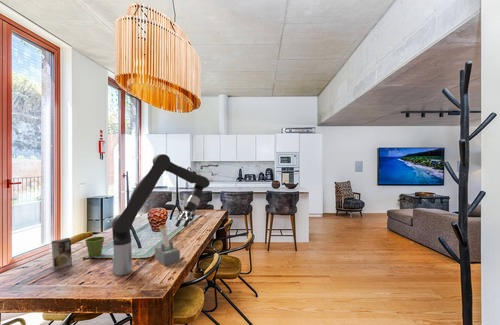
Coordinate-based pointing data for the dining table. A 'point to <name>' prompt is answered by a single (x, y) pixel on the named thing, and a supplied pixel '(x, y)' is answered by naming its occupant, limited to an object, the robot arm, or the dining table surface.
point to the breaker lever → (164, 236)
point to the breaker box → (167, 254)
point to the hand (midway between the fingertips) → (180, 226)
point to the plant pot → (94, 245)
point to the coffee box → (61, 253)
